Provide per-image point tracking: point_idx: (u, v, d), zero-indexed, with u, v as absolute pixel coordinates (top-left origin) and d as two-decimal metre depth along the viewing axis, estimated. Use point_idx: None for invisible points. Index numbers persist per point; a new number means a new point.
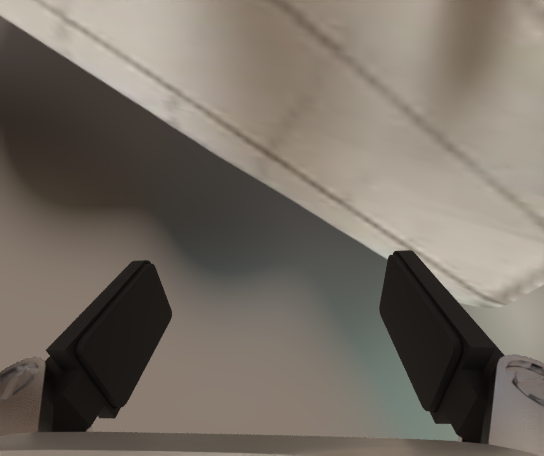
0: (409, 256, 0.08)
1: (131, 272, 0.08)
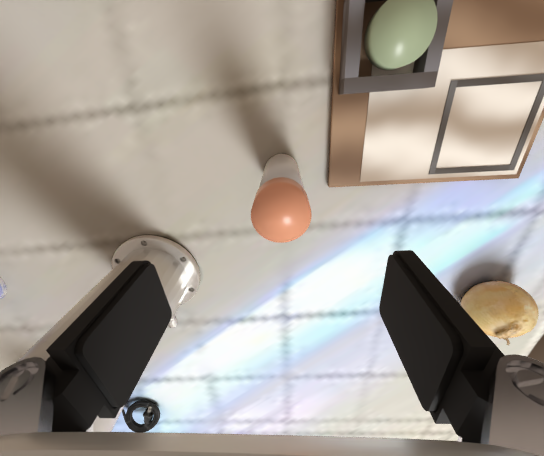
0: (409, 256, 0.08)
1: (131, 272, 0.08)
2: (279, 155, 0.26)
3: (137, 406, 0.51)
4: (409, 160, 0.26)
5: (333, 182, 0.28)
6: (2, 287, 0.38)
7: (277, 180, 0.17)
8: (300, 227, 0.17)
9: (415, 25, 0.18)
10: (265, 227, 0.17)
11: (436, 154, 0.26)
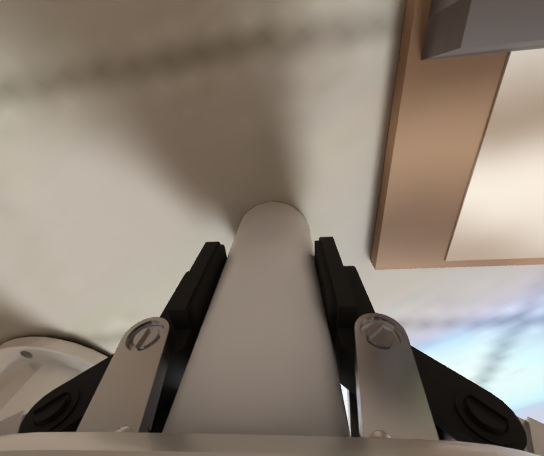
0: (327, 241, 0.09)
1: (210, 251, 0.09)
2: (267, 209, 0.12)
3: None
4: None
5: (384, 261, 0.13)
6: None
7: None
8: None
9: None
10: None
11: None
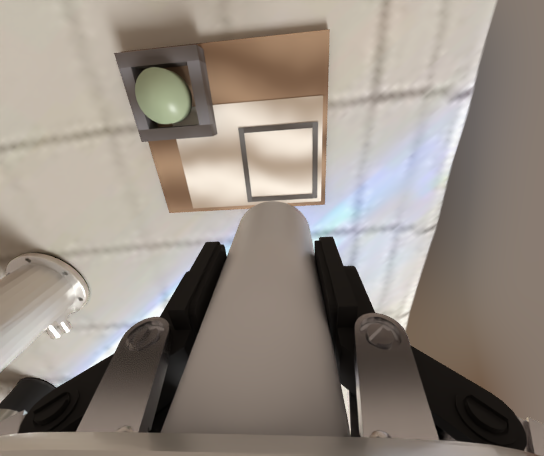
0: (327, 241, 0.09)
1: (210, 251, 0.09)
2: (267, 209, 0.11)
3: None
4: (228, 190, 0.31)
5: (171, 208, 0.32)
6: None
7: None
8: None
9: (167, 93, 0.23)
10: None
11: (248, 186, 0.30)
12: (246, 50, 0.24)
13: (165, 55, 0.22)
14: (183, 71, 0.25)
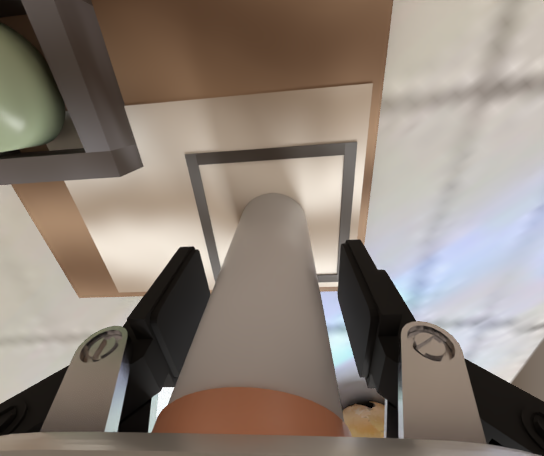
0: (356, 244, 0.09)
1: (182, 256, 0.09)
2: (267, 199, 0.13)
3: None
4: None
5: (81, 292, 0.18)
6: None
7: None
8: None
9: None
10: None
11: (214, 259, 0.16)
12: None
13: None
14: None
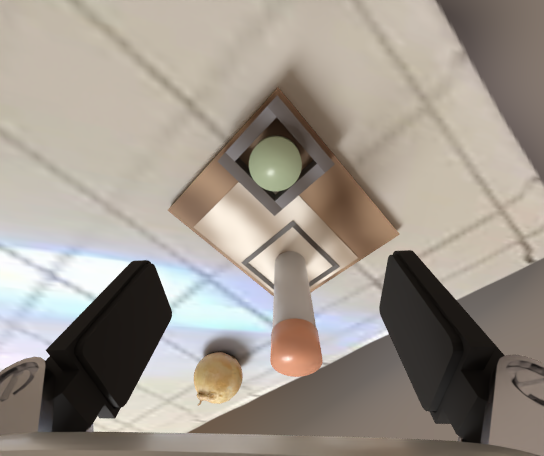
0: (409, 256, 0.08)
1: (131, 272, 0.08)
2: (301, 259, 0.29)
3: None
4: (236, 243, 0.30)
5: (173, 209, 0.28)
6: None
7: (311, 329, 0.20)
8: (299, 373, 0.20)
9: (282, 170, 0.22)
10: (279, 359, 0.19)
11: (254, 255, 0.30)
12: (351, 191, 0.26)
13: (309, 143, 0.22)
14: (302, 152, 0.24)
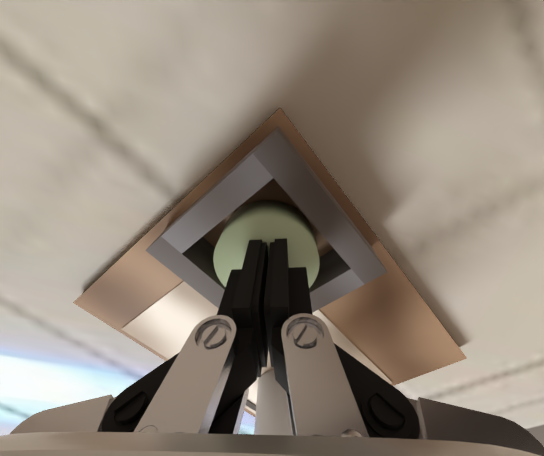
0: (280, 243, 0.09)
1: (256, 248, 0.09)
2: None
3: None
4: None
5: (83, 302, 0.16)
6: None
7: None
8: None
9: None
10: None
11: None
12: (400, 297, 0.15)
13: (339, 233, 0.10)
14: (319, 232, 0.13)
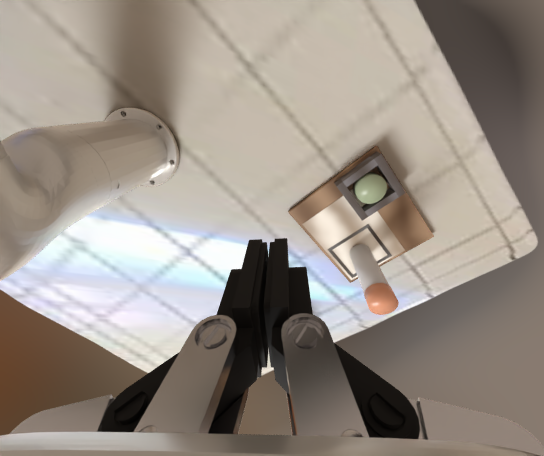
0: (280, 243, 0.09)
1: (256, 248, 0.09)
2: (368, 248, 0.45)
3: None
4: (327, 236, 0.45)
5: (292, 212, 0.43)
6: None
7: (389, 288, 0.36)
8: (384, 312, 0.36)
9: (375, 192, 0.39)
10: (374, 304, 0.35)
11: (337, 244, 0.46)
12: (408, 208, 0.42)
13: (393, 180, 0.38)
14: None
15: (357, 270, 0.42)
